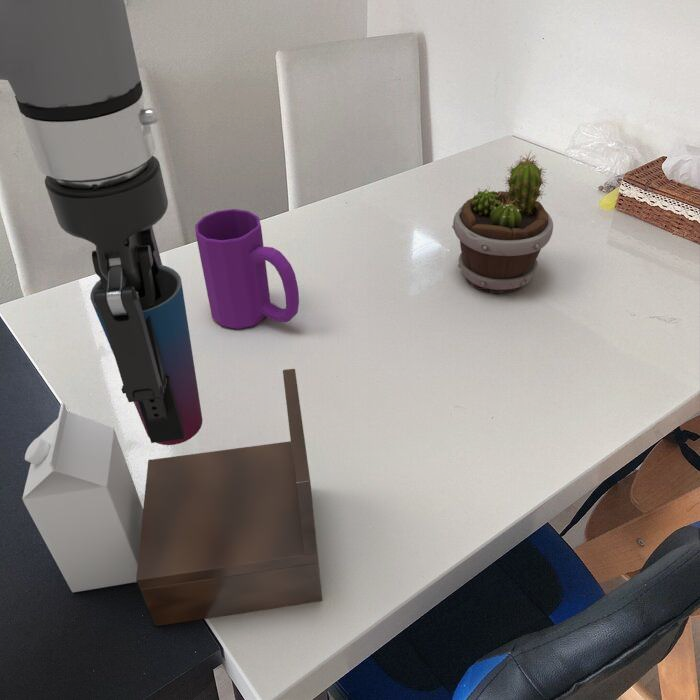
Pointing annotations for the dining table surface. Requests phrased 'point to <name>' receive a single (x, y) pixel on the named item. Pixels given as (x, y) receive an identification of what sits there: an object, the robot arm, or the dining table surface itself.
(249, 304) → the mug
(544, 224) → the flowerpot
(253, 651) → the dining table surface
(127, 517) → the milk carton
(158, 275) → the cup
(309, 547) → the wooden box with backboard
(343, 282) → the dining table surface
